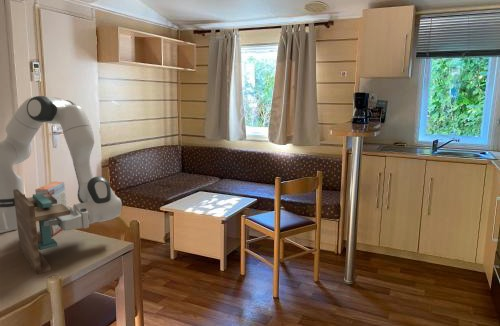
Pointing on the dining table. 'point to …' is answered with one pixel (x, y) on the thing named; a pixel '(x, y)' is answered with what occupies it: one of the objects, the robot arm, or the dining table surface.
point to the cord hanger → (44, 230)
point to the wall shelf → (34, 227)
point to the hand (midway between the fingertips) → (41, 222)
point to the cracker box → (58, 193)
